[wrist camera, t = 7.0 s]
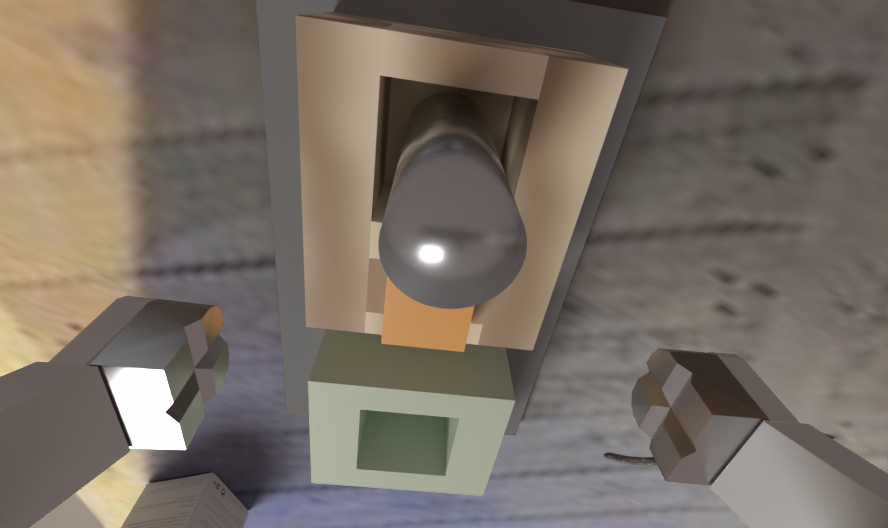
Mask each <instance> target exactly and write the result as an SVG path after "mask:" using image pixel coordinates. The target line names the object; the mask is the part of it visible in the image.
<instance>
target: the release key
mask: <svg viewBox="0 0 888 528" xmlns="http://www.w3.org/2000/svg"><path fill="white" fill-rule="evenodd" d="M473 310H474V306H472V307H467V308H460V309H443V308H436V307H432V306H428V305H425V304H422V303H420V302H417V301H415V300H413V299H411V298H410V297H408V296H407V295H405V294H404V293H402V292H401V291H400V290H399V289H398V288H397V287H396V286H395V285H394V284H393V283H392V282H391V281H390V279H389V277H388V276H387V282H386V293H385V304H384V316H383V327H382V338H381V344H389V345H399V346H409V347H419V348H428V349H438V350H448V351H458V352H464V350H465V345H466V341H467V337H468V332H469V328H470V323H471V319H472V315H473Z"/></svg>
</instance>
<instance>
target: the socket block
mask: <svg viewBox="0 0 888 528" xmlns="http://www.w3.org/2000/svg"><path fill="white" fill-rule="evenodd" d="M295 19H296V48H297V77H298V106H299V135H300V164H301V193H302V222H303V251H304V280H305V309H306V327H312V328H322V329H331V330H341V331H350V332H360V333H370V334H379V335H382V327H383V316H384V304H385V293H386V282H387V274H386V273H385V271H384V269H383V266H382V264H381V260H380V256H379V250H378V240H379V234H380V229H381V226H382V222H383V218H384V214H385V210H386V207H387V203H388V199H389V195H390V192H391V188H392V184H393V180H394V176H395V173H396V169H397V165H398V161H399V158H400V154H401V150H402V146H403V142H404V139H405V135H406V131H407V127H408V124H409V120H410V117H411V115H412V113H413V111H414V109H415V108H416V107H417V105H418V104H419V103H420V102H421V101H422V100H424V99H425V98H426V97H428V96H430V95H432V94H435V93H439V92H447V91H448V92H456V93H459V94H462V95H464V96H466V97H468V98H469V99H471V100H472V101H473V102H474V103H475V104H476V105H477V106H478V108H479V109H480V111H481V112H482V114H483V117H484V119H485V122H486V125H487V127H488V130H489V133H490V135H491V138H492V141H493V143H494V146H495V149H496V151H497V154H498V157H499V159H500V162H501V165H502V167H503V170H504V173H505V175H506V178H507V181H508V183H509V186H510V189H511V191H512V194H513V197H514V199H515V202H516V205H517V207H518V210H519V213H520V215H521V218H522V221H523V223H524V226H525V230H526V236H527V251H526V256H525V260H524V263H523V265H522V268H521V270H520V272H519V273H518V275H517V276H516V278H515V279H514V281H513V282H512V283H511V284H510V285H509V286H508V287H507V288H506V289H505V290H504V291H503V292H501V293H500V294H499V295H497V296H495V297H494V298H492V299H490V300H488V301H486V302H484V303H481V304H479V305H475V306H474V310H473V315H472V319H471V323H470V328H469V332H468V337H467V341H466V344H475V345H485V346H494V347H504V348H513V349H523V350H533V348H534V345H535V342H536V339H537V336H538V333H539V330H540V327H541V324H542V322H543V319H544V316H545V313H546V310H547V307H548V304H549V301H550V298H551V295H552V292H553V289H554V286H555V283H556V280H557V278H558V275H559V272H560V269H561V266H562V263H563V260H564V257H565V254H566V251H567V248H568V245H569V242H570V239H571V236H572V234H573V231H574V228H575V225H576V222H577V219H578V216H579V213H580V210H581V207H582V204H583V201H584V198H585V195H586V193H587V190H588V187H589V184H590V181H591V178H592V175H593V172H594V169H595V166H596V163H597V160H598V157H599V154H600V151H601V149H602V146H603V143H604V140H605V137H606V134H607V131H608V128H609V125H610V122H611V119H612V116H613V113H614V110H615V108H616V105H617V102H618V99H619V96H620V93H621V90H622V87H623V84H624V81H625V78H626V75H627V72H628V69H626V68H624V67H621V66H618V65H615V64H612V63H610V62H607V61H604V60H601V59H598V58H596V57H593V56H590V55H587V54H584V53H581V52H575V51H569V50H563V49H557V48H550V47H544V46H538V45H532V44H526V43H520V42H514V41H508V40H502V39H496V38H489V37H483V36H477V35H471V34H465V33H459V32H453V31H447V30H441V29H435V28H429V27H422V26H416V25H410V24H404V23H398V22H392V21H386V20H380V19H374V18H368V17H362V16H355V15H349V14H343V13H337V12H326V13H314V14H303V15H295Z"/></svg>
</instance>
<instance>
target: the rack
mask: <svg viewBox="0 0 888 528" xmlns="http://www.w3.org/2000/svg"><path fill="white" fill-rule="evenodd" d="M381 338H382V335H379V334H370V333H360V332H350V331H341V330H331V329H326V331H325V334H324V337H323V340H322V343H321V345H320V348H319V351H318V354H317V357H316V360H315V362H314V365H313V368H312V371H311V374H310V377H309V380H308V397H309V426H310V455H311V483H320V484H333V485H347V486H360V487H373V488H386V489H400V490H413V491H426V492H440V493H453V494H466V495H479V496H483V494H484V492H485V489H486V486H487V483H488V480H489V477H490V474H491V471H492V468H493V465H494V462H495V459H496V456H497V453H498V450H499V448H500V445H501V442H502V439H503V436H504V433H505V430H506V427H507V424H508V421H509V418H510V415H511V412H512V409H513V407H514V404H515V395H514V390H513V385H512V379H511V374H510V369H509V363H508V358H507V353H506V348H504V347H494V346H485V345H475V344H466V345H465V350H464V352H458V351H448V350H438V349H428V348H419V347H409V346H399V345H389V344H381Z"/></svg>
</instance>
